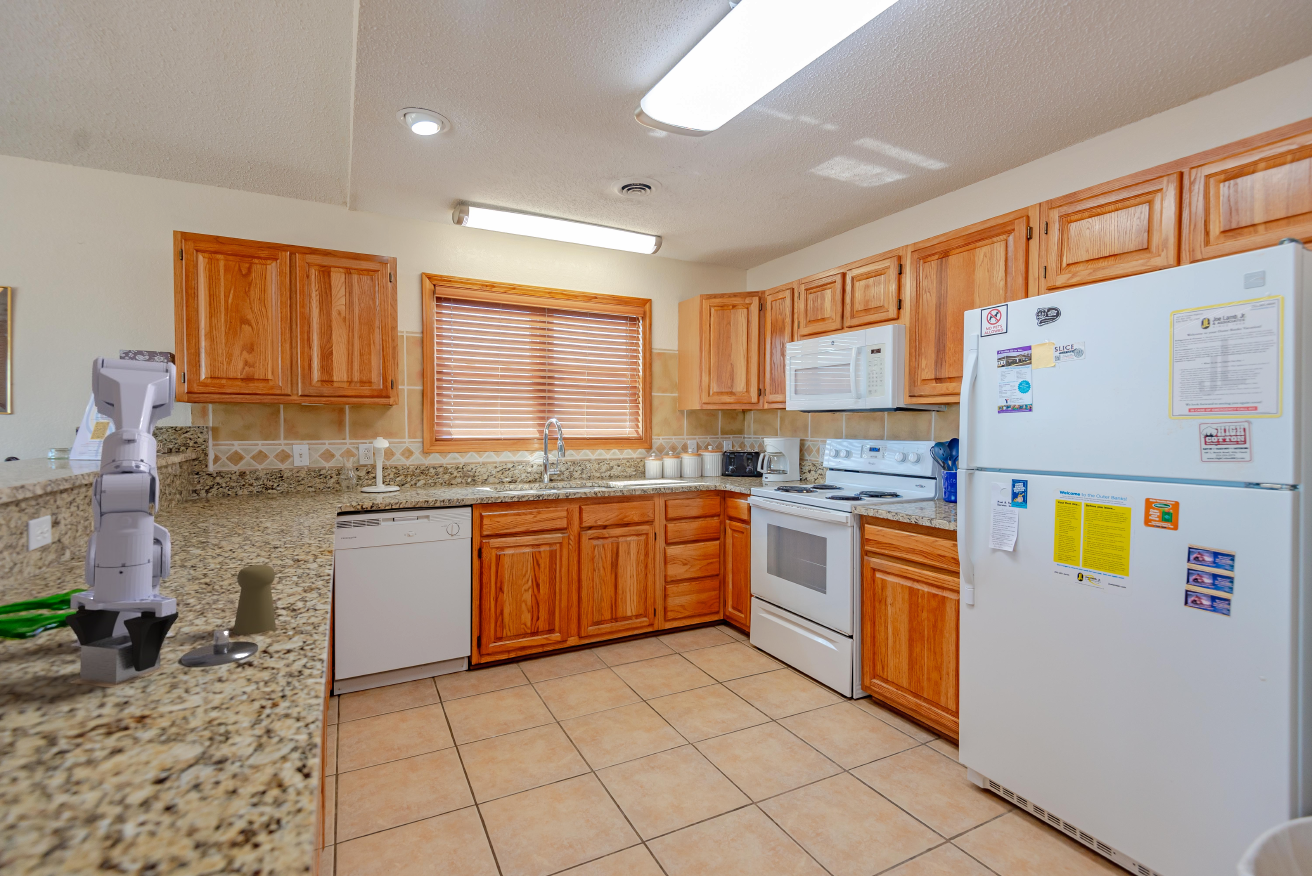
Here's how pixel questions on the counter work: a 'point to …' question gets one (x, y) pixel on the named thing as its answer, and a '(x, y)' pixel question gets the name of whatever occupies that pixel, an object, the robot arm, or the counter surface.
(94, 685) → the stand
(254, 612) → the cork
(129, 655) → the square metal tube
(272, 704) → the counter surface
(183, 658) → the hub
